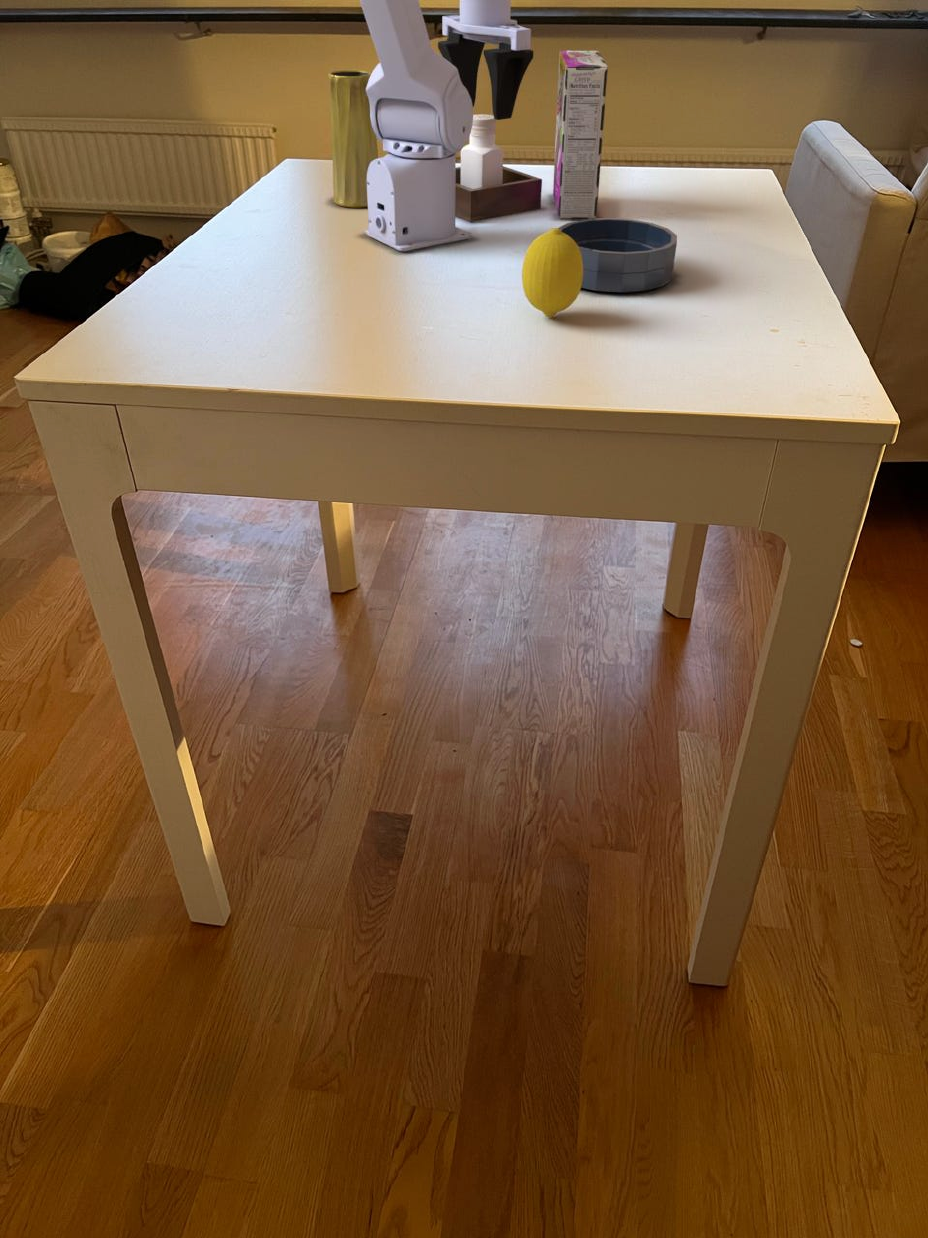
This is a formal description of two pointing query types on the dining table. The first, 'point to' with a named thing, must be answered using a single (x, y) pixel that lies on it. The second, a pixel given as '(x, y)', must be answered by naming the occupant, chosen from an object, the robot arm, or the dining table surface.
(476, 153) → the white bottle
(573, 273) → the lemon
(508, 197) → the box
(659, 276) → the bowl
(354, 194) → the vase
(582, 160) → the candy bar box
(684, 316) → the dining table surface
